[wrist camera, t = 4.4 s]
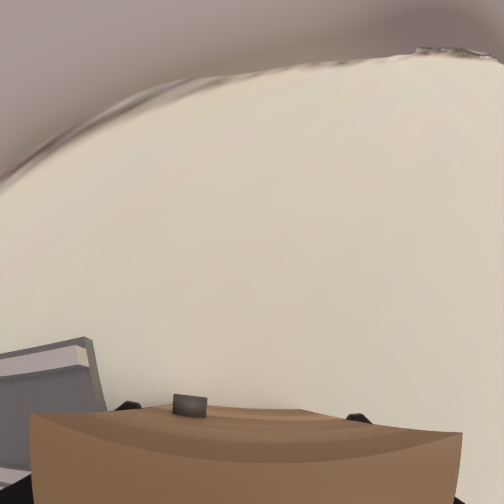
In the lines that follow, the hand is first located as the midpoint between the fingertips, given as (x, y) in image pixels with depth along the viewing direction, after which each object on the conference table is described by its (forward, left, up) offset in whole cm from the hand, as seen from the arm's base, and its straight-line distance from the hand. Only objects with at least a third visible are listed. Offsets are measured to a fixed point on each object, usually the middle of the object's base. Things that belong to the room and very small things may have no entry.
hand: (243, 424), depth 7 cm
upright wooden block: (-1, +1, -7) cm, 7 cm away
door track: (+8, +9, -7) cm, 14 cm away
